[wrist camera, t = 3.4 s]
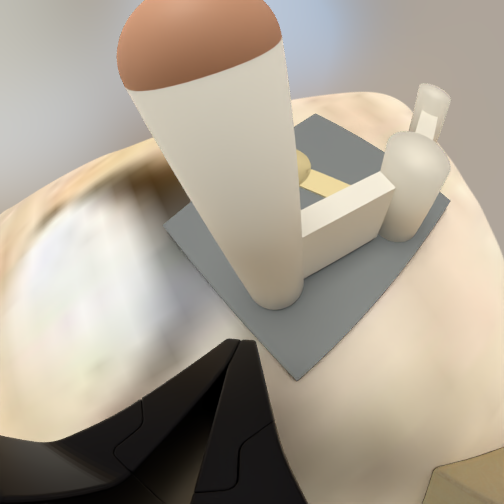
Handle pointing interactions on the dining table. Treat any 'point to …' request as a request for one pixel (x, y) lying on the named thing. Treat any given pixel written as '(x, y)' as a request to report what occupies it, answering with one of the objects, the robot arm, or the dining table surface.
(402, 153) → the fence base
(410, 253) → the board
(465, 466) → the toy refrigerator
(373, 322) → the dining table surface
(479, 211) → the dining table surface
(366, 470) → the dining table surface
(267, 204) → the fence post
